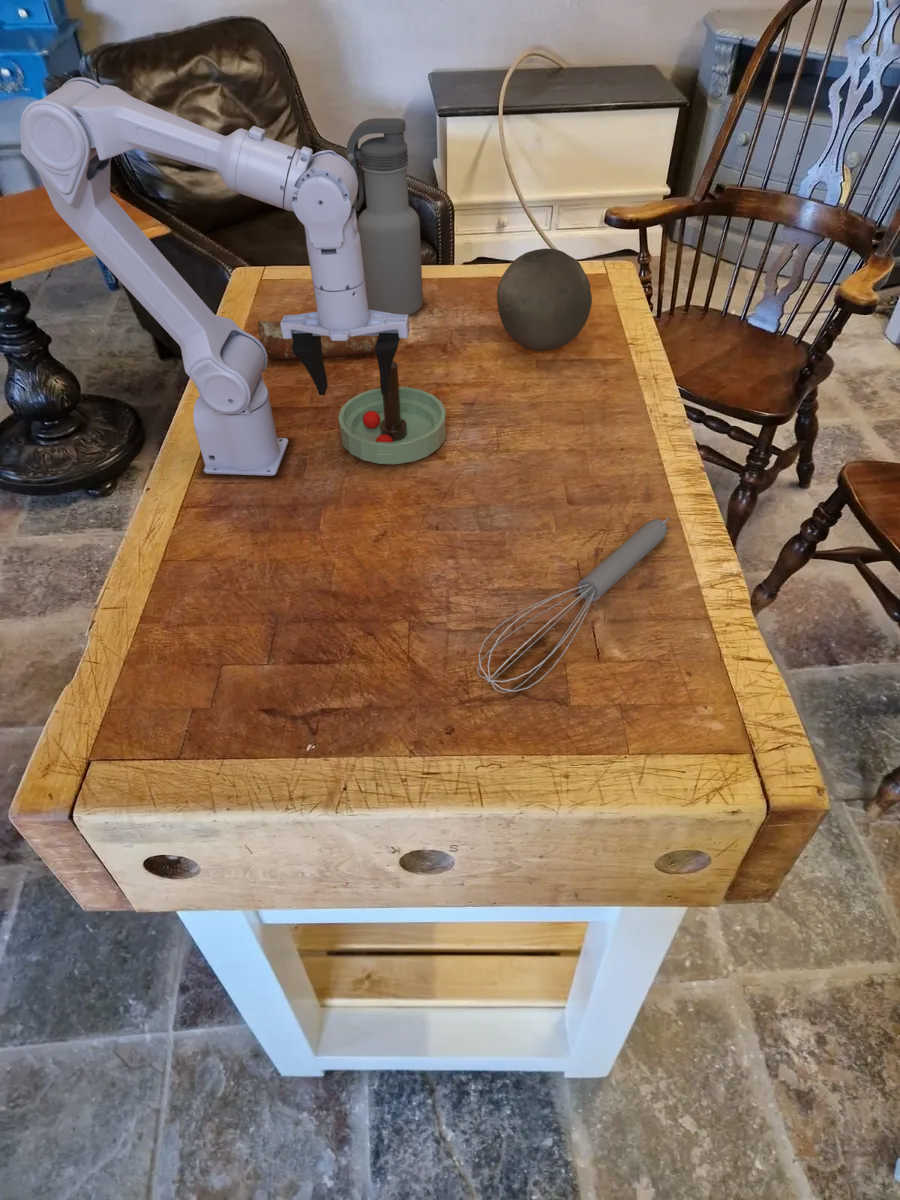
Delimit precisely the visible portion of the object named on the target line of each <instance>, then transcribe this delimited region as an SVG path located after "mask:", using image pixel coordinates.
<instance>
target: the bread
mask: <svg viewBox="0 0 900 1200" xmlns="http://www.w3.org/2000/svg"><path fill="white" fill-rule="evenodd" d="M280 323H281V320H280V321H279V320H270V321H267V320H258V322H257V326H258V329H257V333H258V335H259V341H260V342H261V343H262V344H263V346H264V348H265V350H266V352H267V356H268V359H273V360H299V359H298V358H297V357H296V356H295V355H294V353H293V351H292V344H293V338H291V339H283V335H282V330H281V325H280ZM378 337H379V336H353V337H349V339H348V340H346V341H332V340H331V339H330V337H329V336H321V346H322V356H323V358H330V357H332V358H333V357H345V356H354V355H355V356H356V355H365V354H374V353H375V354H376V352H375V346H376V342H377V340H378Z"/></svg>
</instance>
